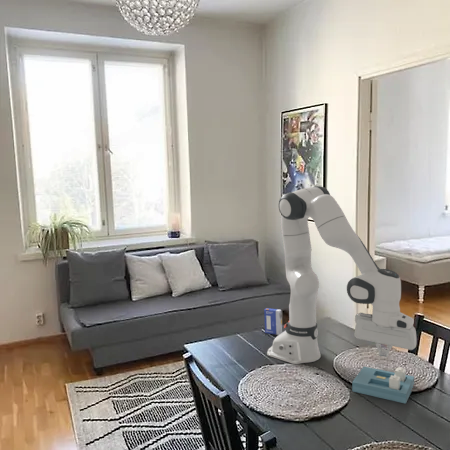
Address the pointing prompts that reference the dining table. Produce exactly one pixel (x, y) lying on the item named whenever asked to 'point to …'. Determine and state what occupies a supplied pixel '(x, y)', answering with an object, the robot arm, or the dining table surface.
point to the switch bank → (381, 385)
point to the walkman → (273, 321)
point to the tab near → (394, 382)
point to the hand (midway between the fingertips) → (383, 355)
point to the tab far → (401, 373)
